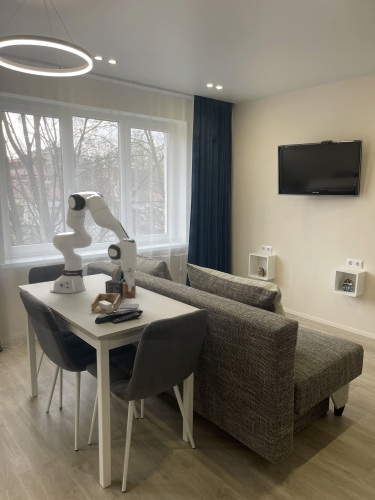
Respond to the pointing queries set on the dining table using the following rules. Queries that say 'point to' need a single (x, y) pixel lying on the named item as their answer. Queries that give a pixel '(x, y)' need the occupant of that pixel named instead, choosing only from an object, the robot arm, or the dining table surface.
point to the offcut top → (105, 304)
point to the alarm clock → (118, 274)
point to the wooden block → (129, 294)
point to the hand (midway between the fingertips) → (129, 290)
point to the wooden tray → (108, 298)
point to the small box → (114, 287)
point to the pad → (129, 306)
